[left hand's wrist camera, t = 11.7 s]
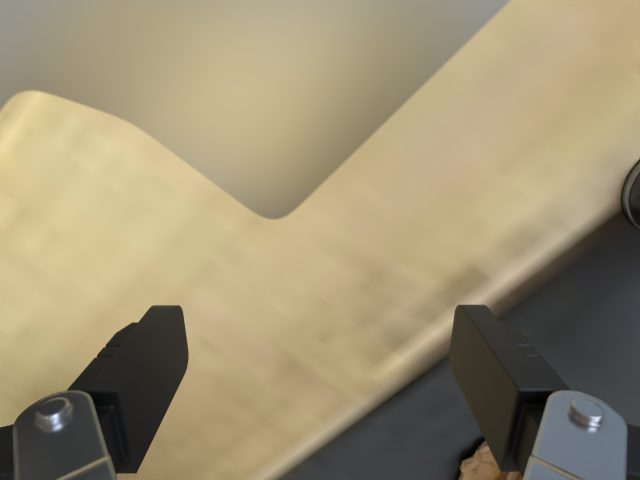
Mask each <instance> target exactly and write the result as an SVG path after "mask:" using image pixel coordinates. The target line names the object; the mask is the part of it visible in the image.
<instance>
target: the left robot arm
mask: <svg viewBox="0 0 640 480" xmlns="http://www.w3.org/2000/svg"><path fill="white" fill-rule="evenodd" d="M622 206H623V211H624V214H625V216H626V218H627V219H628V221H629V222H630V223H631V224H632V225H633V226H634V227H636V228H637V229H639V230H640V162H639V163H638V164H637V165H636V166H635V167H634V169H633V170H632V172H631V173H630V175H629V177H628V179H627V181H626V183H625V186H624V189H623V194H622ZM450 364H451V368H452V371H453V374H454V376H455V378H456V380H457V382H458V384H459V386H460V388H461V390H462V392H463V395H464V397H465V399H466V401H467V403H468V405H469V407H470V409H471V411H472V413H473V415H474V417H475V419H476V422H477V424H478V426H479V428H480V430H481V432H482V434H483V436H484V438H485V440H486V442H487V444H488V446H489V449H490V451H491V453H492V455H493V457H494V459H495V461H496V463H497V465H498V467H499V469H500V471H501V472H520V474H521V476H522V477H523V480H640V427H638V426H634V425H629V424H626V423H625V421H624V419H623V418H622V417H621V415H620V414H619V413H618V412H617V411H616V410H614V409H613V408H612V407H611V406H609V405H608V404H606V403H605V402H603V401H601V400H599V399H597V398H595V397H593V396H590V395H588V394H585V393H581V392H577V391H571V390H570V389H569V388H568V386H567V385H566V384H565V383H564V382H563V381H562V379H561V378H560V377H559V376H558V375H557V373H556V372H555V371H554V370H553V369H552V368H551V366H550V365H549V364H548V363H547V362H546V361H545V359H544V358H543V357H540V354H539V352H538V351H537V350H536V349H535V348H534V347H532V344H531V343H530V342H529V341H528V340H527V338H526V337H525V336H524V335H523V334H522V332H520V331H519V330H517V329H515V328H514V327H512V326H511V325H509V324H508V323H506V322H499V321H498V320H497V318H496V317H495V316H494V315H493V313H492V312H491V311H490V310H489V308H488V307H487V306H486V305H458V306H457V307H456V310H455V315H454V322H453V330H452V337H451V345H450ZM187 365H188V345H187V338H186V331H185V323H184V316H183V311H182V308H181V307H180V306H179V305H154V306H151V307H150V309H149V310H148V311H147V312H146V314H145V315H144V316H143V317H142V319H141V320H140V321H139V322H138V323H131V324H130V325H128V326H126V327H125V328H123V329H122V330H120V331H119V332H117V333H116V334H115V335H114V336H113V337H112V338H111V340H110V341H109V342H108V343H107V344H106V347H105V348H103V349H102V350H101V351H100V352H99V354H98V355H97V358H94V359H93V361H92V362H91V363H90V364H89V365H88V366H87V368H86V369H85V370H84V371H83V372H82V373H81V374H80V376H79V377H78V378H77V379H76V380H75V381H74V383H73V384H72V385H71V386H70V387H69V388H68V390H67V391H63V392H59V393H55V394H52V395H50V396H47V397H45V398H43V399H41V400H39V401H37V402H35V403H34V404H32V405H31V406H29V407H28V408H27V409H26V410H24V411H23V412H22V413H21V414H20V415H19V417H18V418H17V419H16V421H15V423H14V424H13V425H9V426H5V427H0V480H117V476H116V475H117V473H137V471H138V469H139V467H140V465H141V463H142V461H143V459H144V457H145V455H146V453H147V450H148V448H149V446H150V444H151V442H152V440H153V438H154V436H155V434H156V432H157V430H158V428H159V426H160V424H161V422H162V420H163V418H164V416H165V413H166V411H167V409H168V407H169V405H170V403H171V401H172V399H173V397H174V395H175V393H176V391H177V389H178V387H179V385H180V383H181V381H182V379H183V377H184V374H185V372H186V369H187Z"/></svg>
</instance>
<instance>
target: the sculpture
mask: <svg viewBox="0 0 640 480" xmlns="http://www.w3.org/2000/svg"><path fill="white" fill-rule="evenodd" d="M460 470H461V475H460V477H459V478H458V480H523V477H522V476H521V474H520V472H501V471H500V469H499V467H498V465H497V463H496V461H495V459H494V457H493V455H492V453H491V451H490V449H489V446H488V444H487V442H486V441H484V442H483V443H482V444H481V445H480V446H479V447H478V448H477V449H476V452H475V454H473V456H472V457H470V458H467V459H465V460H463V461H462V463H461V466H460Z"/></svg>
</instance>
